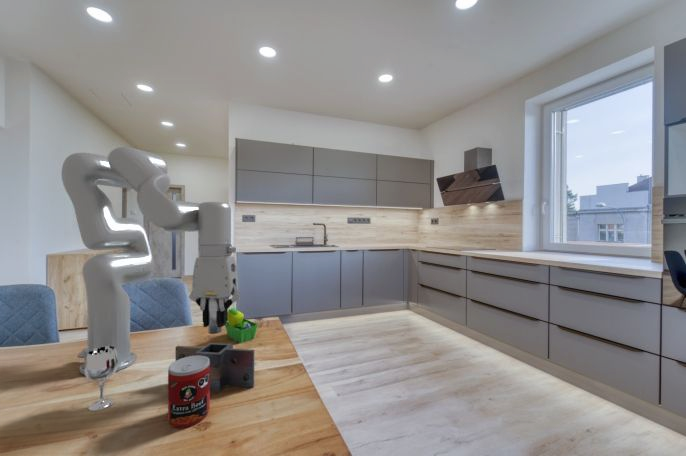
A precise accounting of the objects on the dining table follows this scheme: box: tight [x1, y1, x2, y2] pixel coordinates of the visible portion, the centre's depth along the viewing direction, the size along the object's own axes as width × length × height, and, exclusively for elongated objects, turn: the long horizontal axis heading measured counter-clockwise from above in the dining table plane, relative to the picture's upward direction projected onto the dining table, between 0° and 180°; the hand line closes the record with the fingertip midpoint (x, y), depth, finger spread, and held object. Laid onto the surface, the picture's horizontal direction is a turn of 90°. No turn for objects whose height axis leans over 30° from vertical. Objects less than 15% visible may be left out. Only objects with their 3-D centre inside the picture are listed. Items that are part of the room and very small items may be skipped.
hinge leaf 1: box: [174, 345, 226, 379], centre depth 74 cm, size 13×6×9 cm, turn 83°
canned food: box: [167, 355, 211, 429], centre depth 62 cm, size 8×8×11 cm
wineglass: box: [84, 346, 118, 412], centre depth 65 cm, size 6×6×12 cm
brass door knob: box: [204, 291, 223, 335], centre depth 74 cm, size 5×5×10 cm
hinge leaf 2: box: [195, 342, 255, 393], centre depth 74 cm, size 13×6×9 cm, turn 83°
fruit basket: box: [224, 307, 259, 344], centre depth 105 cm, size 11×9×11 cm
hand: (215, 324), depth 74 cm, fingers closed on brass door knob, 3 cm apart
